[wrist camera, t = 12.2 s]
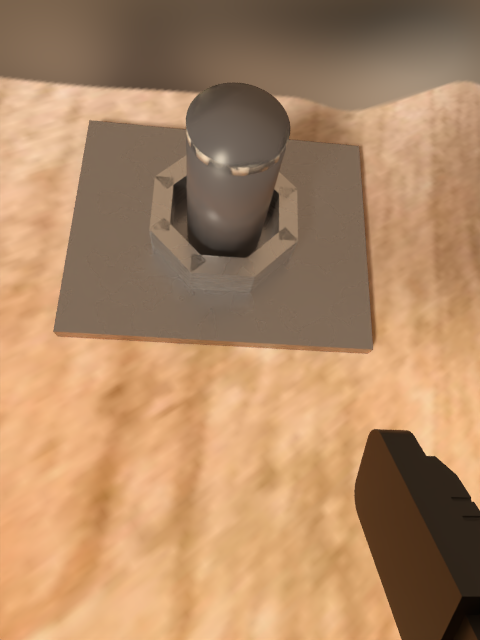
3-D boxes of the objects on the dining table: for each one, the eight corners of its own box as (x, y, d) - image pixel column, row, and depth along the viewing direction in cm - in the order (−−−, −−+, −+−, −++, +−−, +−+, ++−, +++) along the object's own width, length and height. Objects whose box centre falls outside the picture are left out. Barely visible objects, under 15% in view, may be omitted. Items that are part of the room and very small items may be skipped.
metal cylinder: (184, 260, 30) (182, 162, 21) (189, 195, 32) (189, 77, 23) (260, 265, 31) (290, 172, 21) (261, 201, 32) (289, 88, 23)
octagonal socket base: (57, 336, 29) (40, 317, 26) (92, 130, 34) (81, 93, 31) (367, 353, 31) (388, 338, 27) (354, 154, 36) (371, 122, 33)
